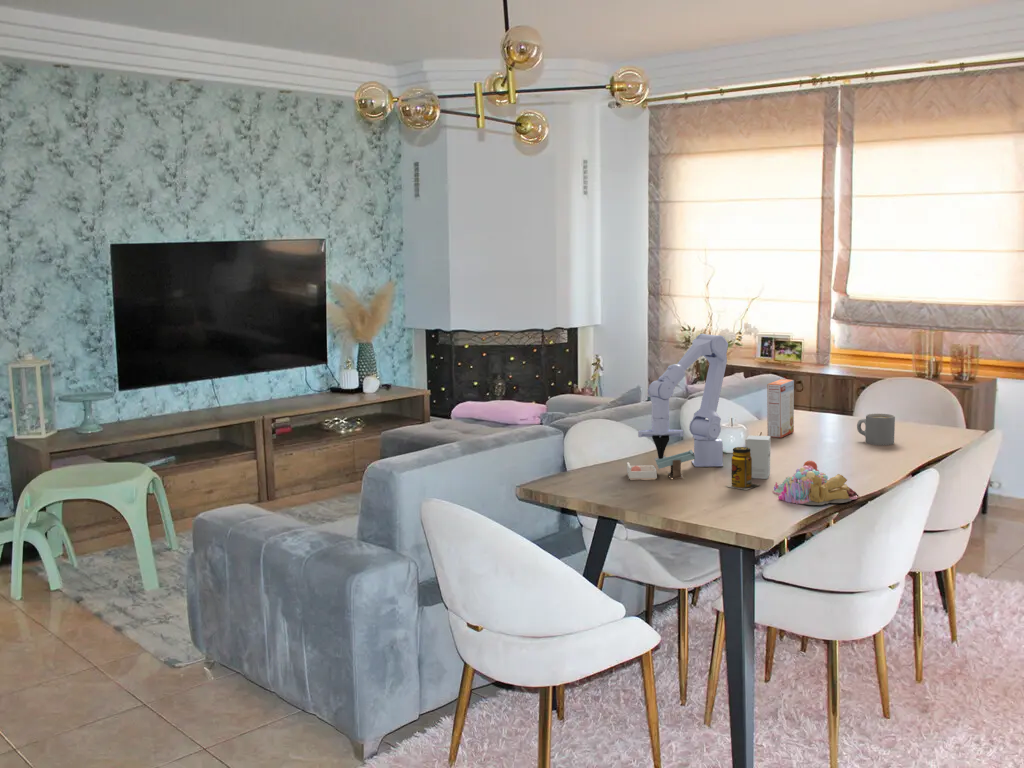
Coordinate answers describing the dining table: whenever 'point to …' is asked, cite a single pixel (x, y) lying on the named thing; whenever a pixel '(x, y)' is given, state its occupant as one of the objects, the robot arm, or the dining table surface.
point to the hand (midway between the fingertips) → (660, 458)
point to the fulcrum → (676, 470)
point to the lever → (669, 460)
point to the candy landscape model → (814, 487)
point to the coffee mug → (878, 429)
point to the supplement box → (759, 455)
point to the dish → (642, 472)
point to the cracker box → (780, 408)
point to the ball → (636, 468)
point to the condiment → (742, 469)
